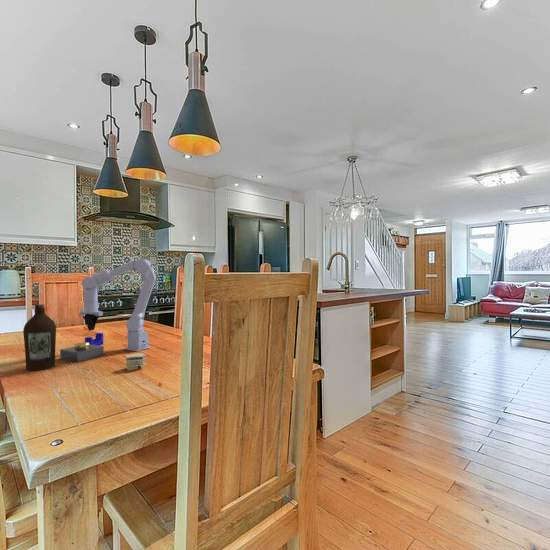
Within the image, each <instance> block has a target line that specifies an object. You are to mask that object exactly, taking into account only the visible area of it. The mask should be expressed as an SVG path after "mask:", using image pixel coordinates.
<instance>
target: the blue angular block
mask: <svg viewBox="0 0 550 550" xmlns="http://www.w3.org/2000/svg"><path fill="white" fill-rule="evenodd" d="M84 342H89V343H90V344H91V345H97V346H103V345H104V333H103V332H96V333H95V338H94V337H93V336H90V337H89V336H86V337H84Z"/></svg>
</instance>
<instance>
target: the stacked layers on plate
mask: <svg viewBox="0 0 550 550" xmlns="http://www.w3.org/2000/svg"><path fill="white" fill-rule="evenodd" d="M146 355H147V354H145V353H143V352H137V353H130V354H126V355H125V360H126V362H125V366H126V369H127V371H133V370H138V369H139V368H143V366H145V365H147V362H146V359H147V358H146ZM144 356H145V357H144Z"/></svg>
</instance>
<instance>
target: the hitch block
mask: <svg viewBox="0 0 550 550" xmlns="http://www.w3.org/2000/svg"><path fill="white" fill-rule="evenodd" d="M59 352H60V354H59V355H60V356H59V357H60V360H65V361H71V362H76V363H79V362H83V361H87V360H90V359H95V358H99V357H103V356H104V355H105V353H104V346H103V345H100V346H97V345H91V344H90V347H89V348H87V349H79V350H78V349H75V346H71V347H66V348H61V349H60V350H59Z"/></svg>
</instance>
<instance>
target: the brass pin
mask: <svg viewBox="0 0 550 550" xmlns="http://www.w3.org/2000/svg"><path fill="white" fill-rule="evenodd" d="M74 347H75V349H78V350H79V349H87V348H89V347H90V343H89V342H85V341H81V342H76V343H75V344H74Z"/></svg>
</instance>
